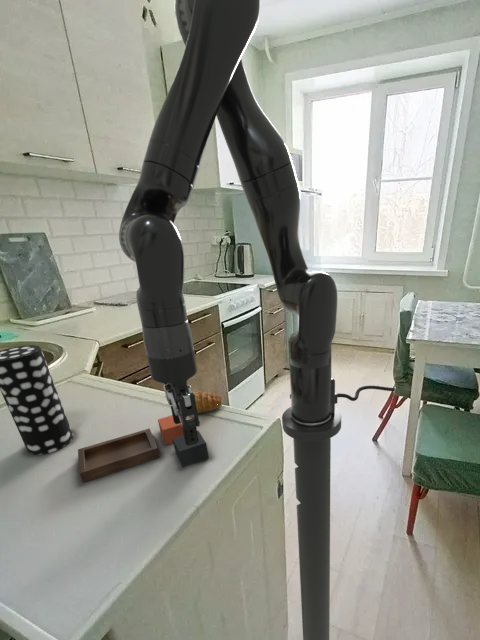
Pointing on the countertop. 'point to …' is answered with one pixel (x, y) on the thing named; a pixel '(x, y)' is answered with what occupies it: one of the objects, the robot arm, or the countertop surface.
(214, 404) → the pastry
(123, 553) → the countertop surface
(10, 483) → the countertop surface
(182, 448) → the charcoal block
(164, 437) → the orange polygonal prism
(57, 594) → the countertop surface
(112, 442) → the brown wooden tray
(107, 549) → the countertop surface
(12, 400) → the white-spotted black cylinder
